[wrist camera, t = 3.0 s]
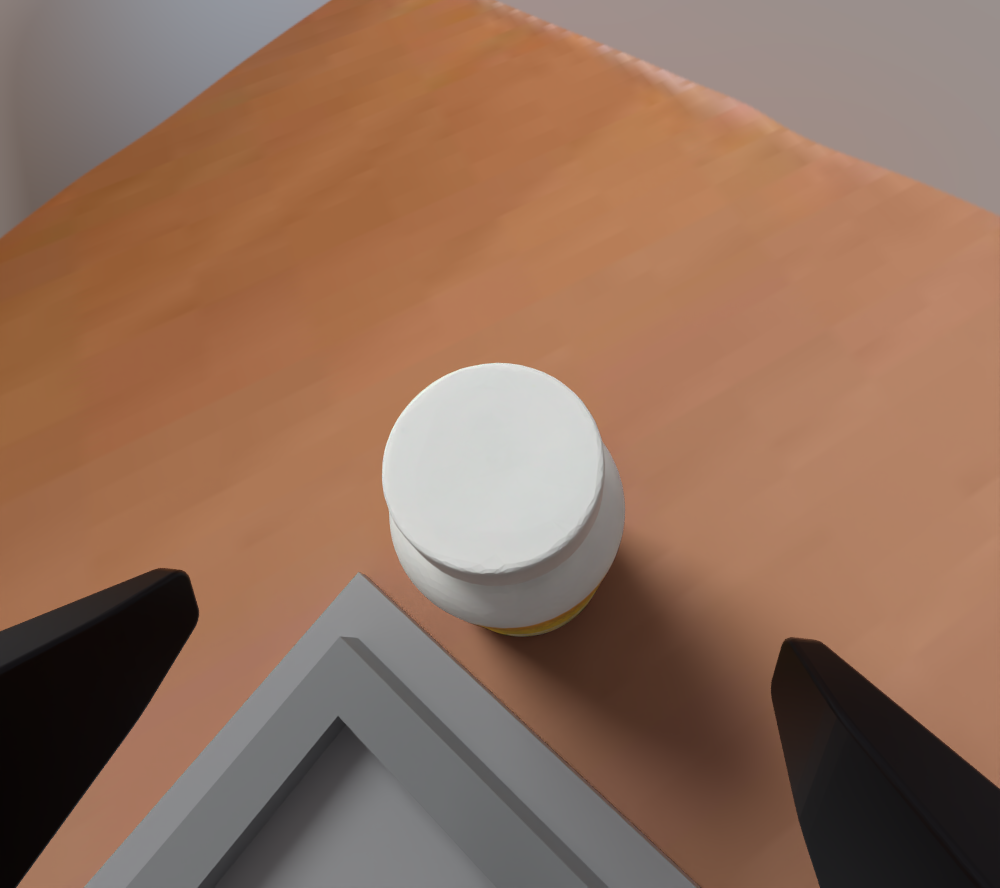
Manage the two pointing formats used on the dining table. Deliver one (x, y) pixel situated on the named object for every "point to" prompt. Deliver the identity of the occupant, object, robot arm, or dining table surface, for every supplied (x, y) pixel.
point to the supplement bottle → (503, 498)
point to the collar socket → (381, 782)
